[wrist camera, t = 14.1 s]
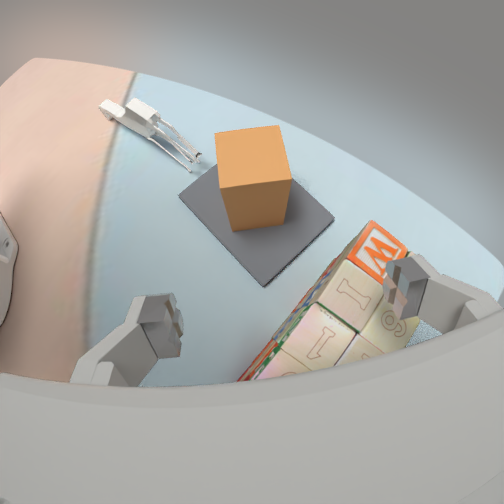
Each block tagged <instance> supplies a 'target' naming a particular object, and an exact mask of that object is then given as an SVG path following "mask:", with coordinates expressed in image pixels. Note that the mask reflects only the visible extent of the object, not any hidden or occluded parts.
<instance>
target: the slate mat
mask: <svg viewBox="0 0 504 504" xmlns="http://www.w3.org/2000/svg"><path fill="white" fill-rule="evenodd" d="M178 196H179V198H180V199H181V200H182V201H183V202H184V203H185V204H186V205H187V207H188V208H189V209H190V210H191V211H192V212H193V213H194V214H195V215H196V216H197V217H198V219H199V220H200V221H201V222H202V223H203V224H204V225H205V226H206V227H207V228H208V229H209V230H210V231H211V233H212V234H213V235H214V236H215V237H216V238H217V239H218V240H219V241H220V242H221V243H222V244H223V245H224V247H225V248H226V249H227V250H228V251H229V252H230V253H231V254H232V255H233V256H234V257H235V258H236V259H237V260H238V261H239V263H240V264H241V265H242V266H243V267H244V268H245V269H246V270H247V271H248V272H249V273H250V274H251V275H252V276H253V277H254V278H255V279H256V281H257V282H258V283H259V284H260V285H261V286H262V287H264V286H265V285H266V284H267V283H268V282H269V281H270V280H271V279H272V278H273V277H275V276H276V275H277V274H278V273H279V272H280V271H281V270H282V269H283V268H284V267H285V266H286V265H287V264H288V263H289V262H290V261H292V260H293V259H294V258H295V257H296V256H297V255H298V254H299V253H300V252H301V251H302V250H303V249H304V248H305V247H306V246H307V245H308V244H309V243H310V242H311V241H312V240H313V239H315V238H316V237H317V236H318V235H319V234H320V233H321V232H322V231H323V230H324V229H325V228H326V227H327V226H328V225H329V224H330V223H331V222H332V221H333V220H334V218H335V217H334V216H333V215H332V214H331V213H330V212H329V211H327V210H326V209H325V208H324V207H323V206H322V205H321V204H320V203H319V202H318V201H317V200H316V199H315V198H314V197H312V196H311V195H310V194H309V193H308V192H307V191H306V190H305V189H304V188H303V187H302V186H300V185H299V184H298V183H297V182H296V181H295V180H294V179H293V178H292V182H291V187H290V192H289V198H288V203H287V208H286V213H285V218H284V223H283V225H277V226H270V227H263V228H255V229H248V230H241V231H234V232H232V229H231V226H230V222H229V219H228V215H227V212H226V208H225V205H224V201H223V198H222V195H221V191H220V186H219V176H218V166H217V164H216V165H215V166H213V167H212V168H211V169H210V170H208V171H207V172H206V173H205V174H203V175H202V176H201V177H200V178H198V179H197V180H196V181H195V182H193V183H192V184H191V185H190V186H188V187H187V188H186V189H185V190H184V191H182V192H181V193H180V194H179V195H178Z"/></svg>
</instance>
